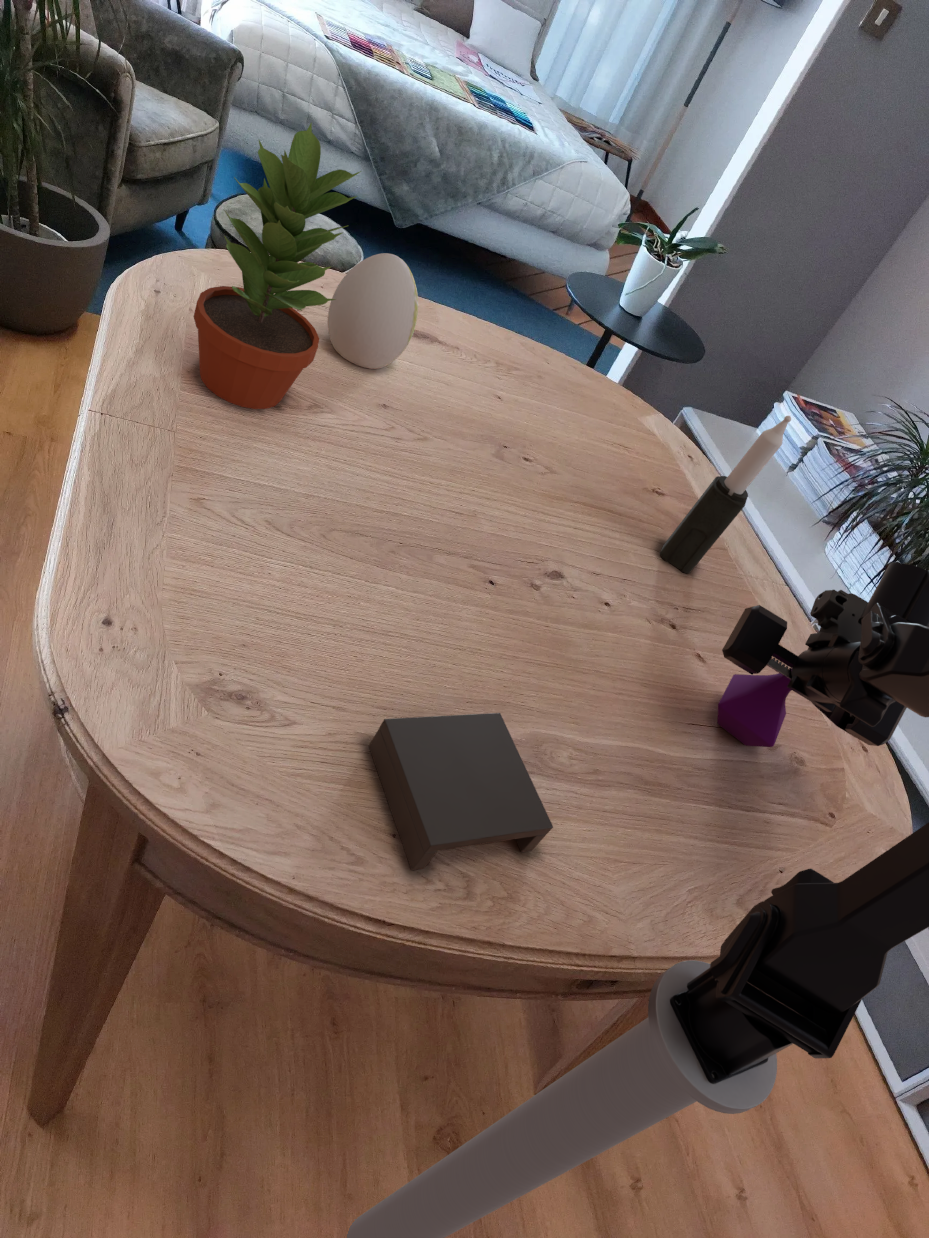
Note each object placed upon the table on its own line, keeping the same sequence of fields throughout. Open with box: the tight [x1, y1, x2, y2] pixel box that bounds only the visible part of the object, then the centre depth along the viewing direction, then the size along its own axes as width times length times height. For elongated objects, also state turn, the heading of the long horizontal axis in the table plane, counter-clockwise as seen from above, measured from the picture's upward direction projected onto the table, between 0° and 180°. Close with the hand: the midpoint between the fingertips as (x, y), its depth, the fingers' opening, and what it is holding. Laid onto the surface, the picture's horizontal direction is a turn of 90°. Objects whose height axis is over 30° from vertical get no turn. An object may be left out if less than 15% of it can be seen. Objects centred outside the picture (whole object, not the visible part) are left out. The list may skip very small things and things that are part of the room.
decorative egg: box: [327, 252, 419, 370], centre depth 118 cm, size 12×12×15 cm
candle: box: [659, 415, 792, 575], centre depth 113 cm, size 5×5×25 cm
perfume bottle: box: [716, 618, 818, 748], centre depth 93 cm, size 8×8×18 cm
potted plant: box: [193, 122, 362, 410], centre depth 95 cm, size 15×15×30 cm
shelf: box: [368, 712, 554, 871], centre depth 72 cm, size 12×12×4 cm
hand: (779, 677), depth 95 cm, fingers open, 9 cm apart
